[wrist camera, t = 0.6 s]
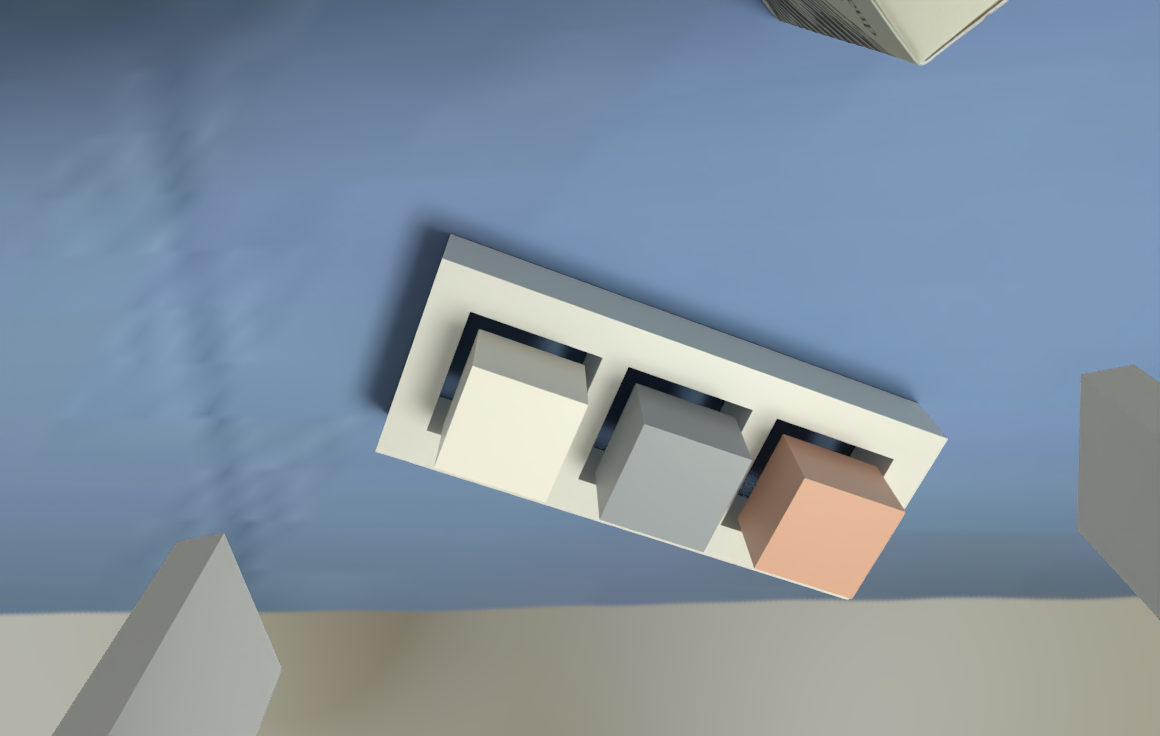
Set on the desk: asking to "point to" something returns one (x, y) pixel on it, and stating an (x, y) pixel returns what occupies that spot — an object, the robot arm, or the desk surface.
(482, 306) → the keypad housing
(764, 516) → the key terracotta
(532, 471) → the key ivory
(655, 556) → the desk surface
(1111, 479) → the robot arm
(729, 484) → the key slate
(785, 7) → the box
